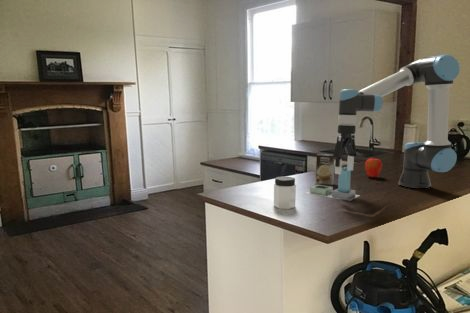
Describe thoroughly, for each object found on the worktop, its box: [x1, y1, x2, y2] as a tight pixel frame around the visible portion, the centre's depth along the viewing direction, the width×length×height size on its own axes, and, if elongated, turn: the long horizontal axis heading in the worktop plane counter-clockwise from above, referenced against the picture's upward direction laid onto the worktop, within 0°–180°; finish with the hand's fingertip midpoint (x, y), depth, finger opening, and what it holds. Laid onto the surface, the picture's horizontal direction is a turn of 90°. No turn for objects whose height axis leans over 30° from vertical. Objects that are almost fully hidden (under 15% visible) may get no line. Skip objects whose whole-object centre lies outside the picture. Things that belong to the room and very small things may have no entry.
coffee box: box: [314, 153, 335, 186], centre depth 201 cm, size 9×6×16 cm
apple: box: [364, 157, 383, 178], centre depth 221 cm, size 9×9×12 cm
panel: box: [305, 184, 361, 201], centre depth 177 cm, size 22×12×4 cm, turn 51°
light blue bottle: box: [337, 166, 352, 193], centre depth 173 cm, size 4×4×13 cm
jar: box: [273, 176, 297, 210], centre depth 159 cm, size 9×8×12 cm
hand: (344, 172), depth 172 cm, fingers open, 13 cm apart
